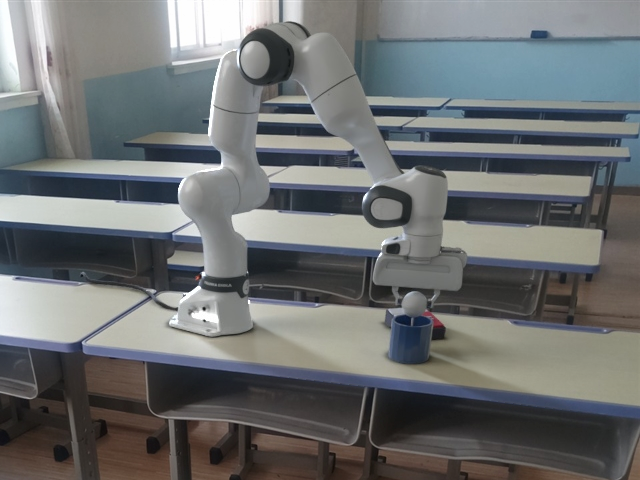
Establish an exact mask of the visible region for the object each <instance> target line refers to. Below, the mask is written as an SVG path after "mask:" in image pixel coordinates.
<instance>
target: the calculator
mask: <svg viewBox="0 0 640 480" xmlns="http://www.w3.org/2000/svg"><path fill="white" fill-rule="evenodd" d="M402 314H405V313H404V312H403V310H402V307H396V308H388V309H386V310H385V316H384V324H385V325H386V326H387V327H388V328H391V324H392V318H393V317H394V316H397V315H402ZM422 315H423V316H427V317H429V318H431V319H432V320H433V322H434V323H433V331H432V338H431V340H443V339H445V338H446V337H445V336H446V330H447V327H446V326H445V324H444V323H443V322H442V321H441V320H439V319H438V317H436V316H435V315H434V314H433V313H432V312H431V311H429V310H428V308H426V311H425V312H424V313H423V314H422Z"/></svg>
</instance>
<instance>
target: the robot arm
mask: <svg viewBox="0 0 640 480" xmlns="http://www.w3.org/2000/svg"><path fill="white" fill-rule="evenodd" d="M289 80H293V81H295V82H297V83H298V84H299V85H300V87H302V89H303V91H304V93H305V95H306V98H307V100H308V102H309V104H310V106H311V108H312V110H313V112H314V114H315V116H316V118H317V120H318V121H319V122H320V124H321V125H322V127H323V128H324V129H325V130H326V132H328V133H329V134H331V135H333V136H335V137H338V138H341V139H342V140H344V141H346V142H347V143H349V144H350V145H351V146H352V147H353V148H354V149H355V151H356V153H357V154H358V156H359V158H360V160H361V162H362V164H363V165H364V167H365V169H366V171H367V173H368V175H369V177H370V179H371V181H372V187H371V188H369V189H368V190H367V192H366V193H365V194H364V196H363V199H362V203H361V212H362V216H363V217H364V220H365V221H366V222H367V224H369V225H370V226H372V227H373V228H376V229H392V228H399V227H402V234H400V235H399V234H398V235H396V236H392V237H387V238H386V239H384V241H382V243H381V246H380V253H379V255H378V256H377V259H376V261H375V264H374V268H373V273H372V282H373V283H374V285H376V286H384V287H385V286H386V287H391V292H392V294H393V297H394V298H395V301H394V302H395V303H394V304H395V305H394V306H401V307H402V305H401V304H402V300H403V298H404V296H401V295H400V294H399V292H398V291H399V289H400V287H401V288H412V289H424V290H425V289H427V290H433V294H434V295H433V296H432V297H431V298H427V308H426V309H434V307H435V302H436V300H437V299H438V297H439V296H440V295H441V291H451V292H453V291H454V292H458V291H459V290H460V289H462V285H463V277H464V273H463V272H464V268H465V267H466V266H467V262H468V253H467V252H466V250H465V249H463V248H461V247H451V246H443V245H442V244H443V235H444V227H443V226H444V225H443V221H444V217H445V216H446V212H447V205H448V194H449V193H448V192H449V182H448V177H447V175H446V174H445V172H444V171H442V170H441V169H439V168H436V167H433V166H429V165H420V164H419V165H415V166H413V167H412V168H410V170H408V171H406V172H404V171H403V170H402V168H400V166H399V165H398V163H397V161H396V160H395V158H394V156H393V154H392V152H391V150H390V148H389V146H388V143H387V142H386V140H385V138H384V136H383V134H382V133H381V130H380V129H379V126H378V125H377V122H376V120H375V117H374V115H373V112H372V110H371V107H370V105H369V101H368V99H367V96H366V93H365V91H364V88H363V86H362V83H361V80H360V78H359V76H358V74H357V72H356V70H355V67H354V65H353V63H352V62H351V60H350V58H349V57H348V54H347V53H346V51H345V50H344V48H343V47H342V45H341V44H340V42H339V41H338V39H337V38H336V37H335V36H334V35H333V34H332V33H330V32H326V31H325V32H323V31H321V32H317V33H313V34H312V35H311V32H310V31H309V30H308V28H306V27H305V26H304V25H302V24H301V23H299V22H296V21H291V20H288V21H283V22H281V21H280V22H272V23H269V24H267V25H265V26H263V27H258V28H256V29H253V30H252V31H250V32H249V33H247V35H246V36H244V37H243V39H242V40H241V42H240V43H239V46H238V48H237V49H233V50H230V51H228V52H226V53H224V54H223V56H222V57H221V58H220V61H219V64H218V67H217V71H216V73H215V78H214V83H213V89H212V94H211V95H212V96H211V102H210V103H211V104H210V113H209V121H208V133H207V135H208V140H209V142H210V144H211V145H212V147H213V148H214V149H215V150H217V151H218V152H219V153H220V157H221V159H220V160H221V163H220V167H217V168H211V169H205V170H199V171H196V172H194V173H192V174H190V175H187V176H186V177H184V178H182V180H181V182H180V184H179V187H178V190H177V191H178V192H177V200H178V204H179V206H180V209H181V211H182V213H183V214H184V215H185V216H186V217H187V218H189V219H190V220H191V221H192V222H193V223H194V225H195V226H196V228H197V230H198V233H199V234H200V238H201V242H202V250H203V252H202V253H203V266H204V269H203V271H202V272H200V273H198V275H196V276H195V281H196V282H197V281H198V285H197V286H196V287H195V288H193V289H192V290H191V291H189V292H183V293H182V297H181V299H180V301H179V302H178V306H177V307H174V306H170V305H168V304H166V303H165V302H163V301H161V300H159V299H157V297H156V296H155V294H153V292H152V291H150V290H148V291H146V290H147V288H145V287H142V286H139V285H135V284H132V283H131V284H130V283H125V282H118V281H109V280H98V279H97V280H96V279H92V278H90V277H89V276H88V275H87V273H86V272H85V271H82V272H80V275H79V277H80V278H84V279H85V281H87V282H89V283H92V284H96V285H110V286H117V287H124V288H129V289H135V290H137V291H141V292H143V293H145V294H147V295H148V296H150V297H151V299H152V301H153V302H154V303H156V304H157V305H158V306H161V307H163V308H164V309H168V310H173V311H177V314H175V315H173V316H172V317H170V319H169V326H170V327H171V328H175V329H179V330H183V331H188V332H191V333H194V334H199V335H203V336H206V337H210V338H211V337H213V338H214V337H218V336H219V337H220V336H225V335H237V334H241V333H245V332H247V331H250V330H252V328H254V322H253V319H252V315H251V309H250V304H251V301H250V300H249V294H250V293H249V292H250V273H249V271H248V242H247V239H246V238H245V237H244V236H243V234H241V233H239V232H238V231H236V230H235V227H234V224H233V219H232V217H233V216H235V215H240V214H244V213H250V212H252V211H253V210H257V209H258V208H260V207H262V206H264V204H266V202H267V201H268V199H269V196H270V192H271V184H270V183H271V182H270V179H269V177H268V173H266V171H265V170H264V169H263V168H262V166H261V165H260V164H259V161H258V156H257V149H256V147H257V146H256V144H257V143H256V141H257V130H258V122H259V114H260V106H261V100H262V99H261V98H262V95H263V90H264V87H272V86H274V85H278V84H281V83H284V82H285V83H286V82H287V81H289Z"/></svg>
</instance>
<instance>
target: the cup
mask: <svg viewBox="0 0 640 480" xmlns="http://www.w3.org/2000/svg"><path fill="white" fill-rule="evenodd" d="M411 321H412V317H409V316H407V315H406V314H402V315H397V316H394V317H393V318H392V324H391V327H390V334H389V345H388V358H389V359H390V360H392V361H394V362H396V363H399V364H400V363H401V364H405V365H406V364H407V365H417V364H422V363H425V362H427V361H428V360H429V358H430V354H431V345H432V339H431V338H432V331H433V323H434V322H433V320H432V319H431V318H429V317H427V316H423V315H421V316H419V317H414V320H413V326H411Z"/></svg>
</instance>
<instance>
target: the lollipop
mask: <svg viewBox="0 0 640 480" xmlns="http://www.w3.org/2000/svg"><path fill="white" fill-rule="evenodd" d="M427 302H428V298H427V297H426V296H425V294H423V293H422V292H420V291H411V292H408V293H407V294H406V295H405V296H403V300H402V304H401V308H402V310H403V312H404V313H405V314H406V315H407V316H409V317H412V321H411V326H413V320H414V317H419V316H421V315H422V314H423V313H424V312H425V311H426V309H428V308H427Z"/></svg>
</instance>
